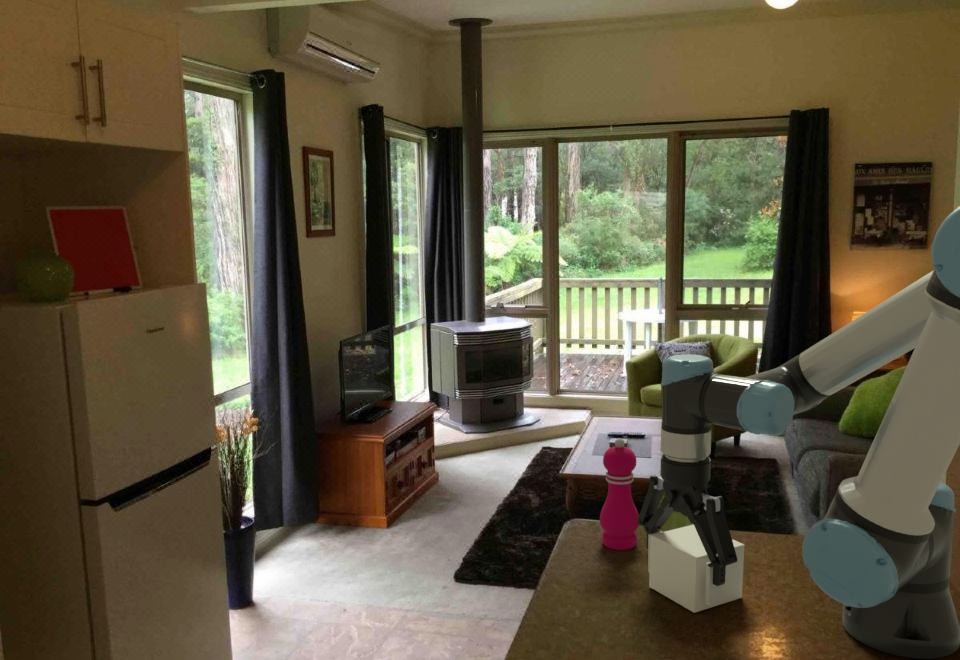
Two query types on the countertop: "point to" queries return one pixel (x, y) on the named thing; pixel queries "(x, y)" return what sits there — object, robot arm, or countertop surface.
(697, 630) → the countertop surface
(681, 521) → the plant pot
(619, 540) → the pepper mill
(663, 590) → the cream cuboid
